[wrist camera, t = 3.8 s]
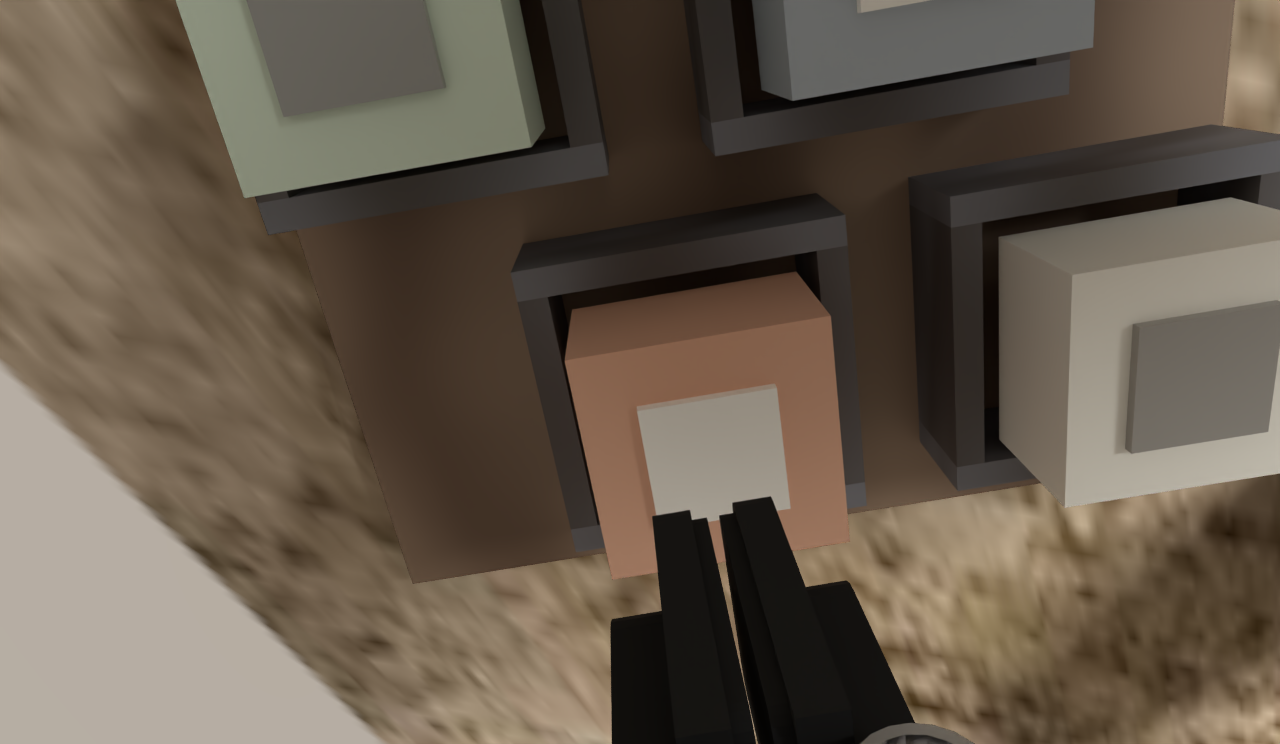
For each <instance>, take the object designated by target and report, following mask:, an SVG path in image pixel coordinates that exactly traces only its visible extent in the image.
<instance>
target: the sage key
mask: <svg viewBox="0 0 1280 744" xmlns="http://www.w3.org/2000/svg"><path fill="white" fill-rule="evenodd" d="M176 3H177V6H178V9H179V12H180V15H181V18H182V20H183V23H184V26H185V29H186V32H187V35H188V38H189V41H190V43H191V46H192V49H193V52H194V55H195V58H196V61H197V63H198V66H199V69H200V72H201V75H202V78H203V81H204V84H205V86H206V89H207V92H208V95H209V98H210V101H211V104H212V107H213V109H214V112H215V115H216V118H217V121H218V124H219V127H220V130H221V132H222V135H223V138H224V141H225V144H226V147H227V150H228V152H229V155H230V158H231V161H232V164H233V167H234V170H235V173H236V175H237V178H238V181H239V184H240V187H241V190H242V193H243V196H244V198H248V197H254V196H260V195H265V194H271V193H277V192H282V191H288V190H293V189H299V188H305V187H310V186H316V185H322V184H327V183H333V182H338V181H344V180H350V179H355V178H361V177H367V176H372V175H378V174H384V173H389V172H395V171H400V170H406V169H412V168H417V167H423V166H429V165H434V164H440V163H445V162H451V161H457V160H462V159H468V158H474V157H479V156H485V155H491V154H496V153H502V152H507V151H513V150H519V149H524V148H530V147H532V146H533V145H534V143H535V142H536V140H537V139H538V138H539V136H540V135H541V134H542V132H543V131H544V129H545V124H544V119H543V115H542V110H541V105H540V100H539V95H538V90H537V85H536V80H535V75H534V70H533V66H532V61H531V56H530V51H529V46H528V41H527V36H526V31H525V26H524V21H523V17H522V12H521V7H520V2H519V0H176Z"/></svg>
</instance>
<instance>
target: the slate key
mask: <svg viewBox="0 0 1280 744" xmlns="http://www.w3.org/2000/svg"><path fill="white" fill-rule="evenodd" d="M752 6H753V15H754V25H755V34H756V43H757V53H758V62H759V72H760V81H761V90H763V91H766V92H769V93H772V94H775V95H778V96H780V97H783V98H786V99H789V100H792V101H795V100H800V99H806V98H811V97H817V96H823V95H828V94H834V93H840V92H845V91H851V90H857V89H862V88H868V87H873V86H879V85H885V84H890V83H896V82H902V81H907V80H913V79H918V78H924V77H930V76H935V75H941V74H947V73H952V72H958V71H964V70H969V69H975V68H980V67H986V66H992V65H997V64H1003V63H1009V62H1014V61H1020V60H1025V59H1031V58H1037V57H1042V56H1048V55H1054V54H1059V53H1065V52H1071V51H1076V50H1082V49H1087V48H1093V37H1094V11H1095V0H752Z"/></svg>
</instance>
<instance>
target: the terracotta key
mask: <svg viewBox="0 0 1280 744" xmlns="http://www.w3.org/2000/svg"><path fill="white" fill-rule="evenodd" d="M565 365H566V369H567V374H568V378H569V383H570V388H571V392H572V397H573V401H574V406H575V411H576V415H577V420H578V424H579V429H580V434H581V438H582V443H583V447H584V452H585V456H586V461H587V466H588V470H589V475H590V479H591V484H592V489H593V493H594V498H595V502H596V507H597V512H598V516H599V521H600V525H601V530H602V535H603V539H604V544H605V548H606V553H607V557H608V562H609V567H610V571H611V576H612V580H613V579H619V578H626V577H632V576H638V575H645V574H651V573H657V572H658V569H657V560H656V550H655V541H654V531H653V521H652V516H656V515H662V514H668V513H673V512H679V511H685V510H690V512H691V518H692V520H695V519H701V518H706V517H707V520H708V524H709V529H710V533H711V538H712V542H713V547H714V551H715V556H716V560H717V563H720V562H726V560H725V553H724V547H723V540H722V534H721V527H720V520H719V515H724V514H730V513H733V508H732V503H733V502H739V501H745V500H751V499H757V498H763V497H769V496H771V497H772V500H773V502H774V505H775V507H776V510H777V513H778V515H779V518H780V521H781V523H782V526H783V529H784V531H785V534H786V537H787V539H788V542H789V545H790V547H791V550H792V551H795V550H802V549H808V548H814V547H821V546H827V545H833V544H839V543H846V542H850V538H849V526H848V514H847V503H846V491H845V479H844V467H843V455H842V443H841V431H840V419H839V408H838V396H837V384H836V372H835V360H834V348H833V336H832V324H831V315H830V314H829V313H828V312H827V310H826V309H825V308H824V306H823V305H822V304H821V303H820V301H819V300H818V299H817V298H816V296H815V295H814V294H813V292H812V291H811V290H810V289H809V287H808V286H807V285H806V283H805V282H804V281H803V280H802V278H801V277H800V276H799V275H798V273H797V272H796V271H795V272H790V273H784V274H778V275H772V276H766V277H760V278H754V279H749V280H743V281H737V282H731V283H725V284H719V285H713V286H708V287H702V288H696V289H690V290H684V291H678V292H672V293H666V294H661V295H655V296H649V297H643V298H637V299H631V300H625V301H620V302H614V303H608V304H602V305H596V306H590V307H584V308H579V309H573V310H572V313H571V320H570V327H569V334H568V341H567V348H566V354H565Z"/></svg>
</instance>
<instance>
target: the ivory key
mask: <svg viewBox="0 0 1280 744" xmlns="http://www.w3.org/2000/svg"><path fill="white" fill-rule="evenodd" d="M999 440H1000V441H1001V442H1002V443H1003V444H1004V445H1005V446H1006V447H1007V448H1008V449H1009V450H1010V451H1011V452H1012V453H1013V454H1014V455H1015V456H1016V457H1017V458H1018V459H1019V460H1020V462H1021V463H1022V464H1023V465H1024V466H1025V467H1026V468H1027V469H1028V470H1029V471H1030V472H1031V473H1032V474H1033V475H1034V476H1035V477H1036V478H1037V479H1038V480H1039V481H1040V482H1041V483H1042V484H1043V485H1044V486H1045V488H1046V489H1047V490H1048V491H1049V492H1050V493H1051V494H1052V495H1053V496H1054V497H1055V498H1056V499H1057V500H1058V501H1059V502H1060V503H1061V504H1062V505H1063V506H1064V507H1065V508H1066V507H1072V506H1078V505H1084V504H1091V503H1097V502H1103V501H1110V500H1116V499H1122V498H1128V497H1135V496H1141V495H1147V494H1154V493H1160V492H1166V491H1172V490H1179V489H1185V488H1191V487H1198V486H1204V485H1210V484H1216V483H1223V482H1229V481H1235V480H1242V479H1248V478H1254V477H1260V476H1267V475H1273V474H1279V473H1280V210H1278V209H1274V208H1270V207H1266V206H1262V205H1258V204H1255V203H1251V202H1247V201H1243V200H1239V199H1235V198H1231V197H1229V198H1223V199H1218V200H1212V201H1206V202H1200V203H1194V204H1188V205H1182V206H1177V207H1171V208H1165V209H1159V210H1153V211H1147V212H1141V213H1136V214H1130V215H1124V216H1118V217H1112V218H1106V219H1100V220H1094V221H1089V222H1083V223H1077V224H1071V225H1065V226H1059V227H1053V228H1048V229H1042V230H1036V231H1030V232H1024V233H1018V234H1012V235H1007V236H1001V237H999Z"/></svg>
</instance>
